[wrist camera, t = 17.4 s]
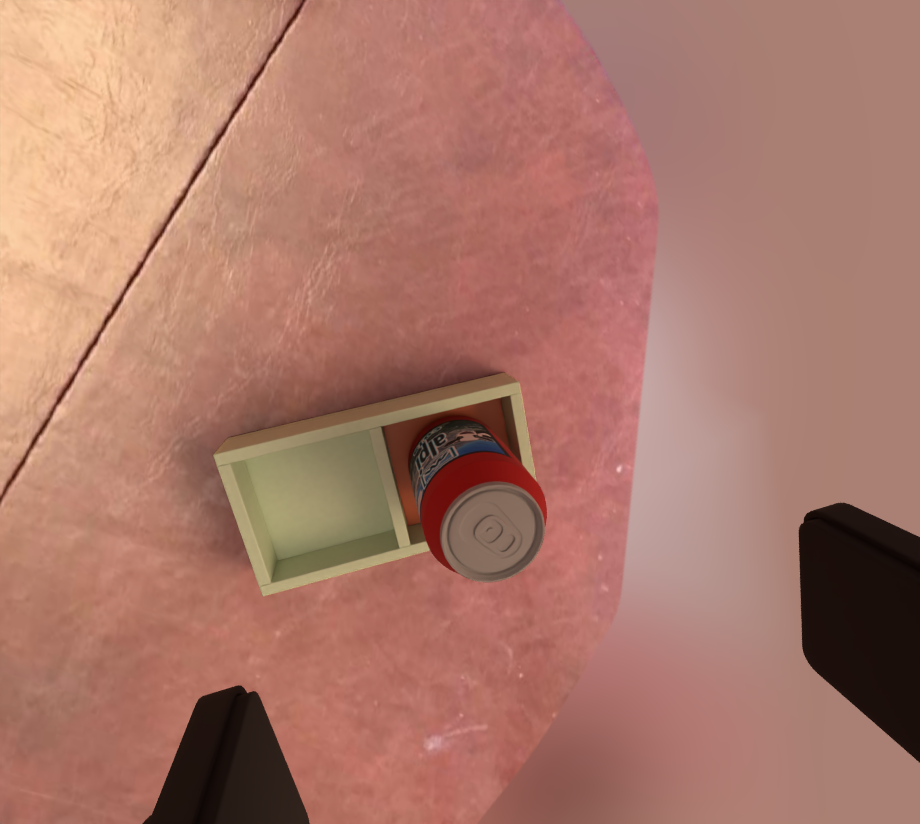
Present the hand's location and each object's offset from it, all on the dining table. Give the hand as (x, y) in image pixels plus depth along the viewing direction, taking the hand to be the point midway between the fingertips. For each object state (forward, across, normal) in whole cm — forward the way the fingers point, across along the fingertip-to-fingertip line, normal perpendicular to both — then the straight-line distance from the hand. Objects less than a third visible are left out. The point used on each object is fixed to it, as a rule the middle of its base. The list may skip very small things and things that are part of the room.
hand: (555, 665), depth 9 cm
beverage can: (+28, -2, +7) cm, 29 cm away
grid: (+29, +3, +7) cm, 30 cm away
